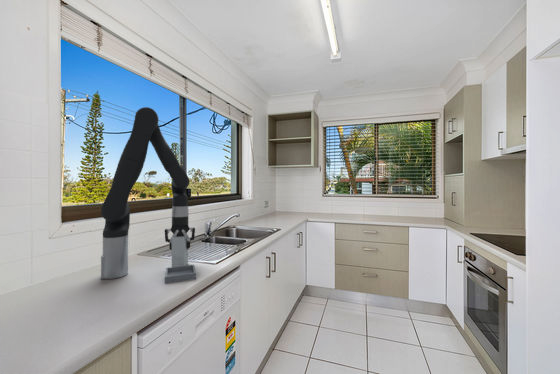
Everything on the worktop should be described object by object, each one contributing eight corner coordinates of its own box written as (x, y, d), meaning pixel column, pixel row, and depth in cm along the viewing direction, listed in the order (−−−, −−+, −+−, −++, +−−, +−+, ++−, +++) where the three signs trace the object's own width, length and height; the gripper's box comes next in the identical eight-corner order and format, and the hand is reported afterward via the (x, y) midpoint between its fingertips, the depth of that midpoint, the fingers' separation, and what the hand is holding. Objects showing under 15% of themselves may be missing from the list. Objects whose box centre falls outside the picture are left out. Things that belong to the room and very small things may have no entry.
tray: (164, 283, 98) (164, 277, 98) (165, 273, 109) (165, 267, 109) (196, 279, 103) (196, 273, 103) (194, 269, 114) (194, 264, 114)
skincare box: (184, 269, 115) (184, 237, 115) (170, 269, 114) (171, 237, 114) (188, 263, 123) (188, 234, 123) (175, 263, 122) (176, 234, 122)
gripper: (163, 216, 112) (163, 253, 112) (196, 215, 118) (196, 250, 118) (164, 215, 119) (163, 249, 119) (195, 214, 125) (195, 246, 125)
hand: (180, 249), depth 118 cm, fingers closed on skincare box, 6 cm apart
